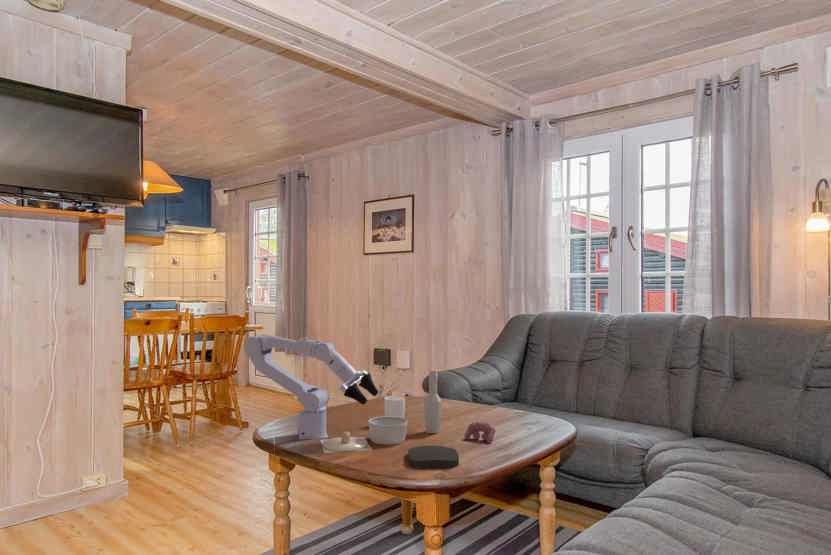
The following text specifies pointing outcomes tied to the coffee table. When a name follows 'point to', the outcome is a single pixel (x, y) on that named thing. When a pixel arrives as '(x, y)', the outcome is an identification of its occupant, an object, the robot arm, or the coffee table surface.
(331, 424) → the coffee table surface
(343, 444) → the lid
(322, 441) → the mat
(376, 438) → the ramekin
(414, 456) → the media streaming box
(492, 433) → the video game controller
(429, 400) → the low poly bottle
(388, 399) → the white cup
